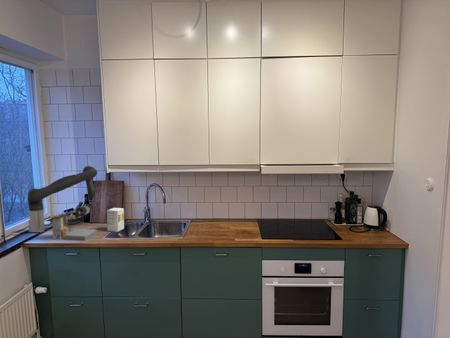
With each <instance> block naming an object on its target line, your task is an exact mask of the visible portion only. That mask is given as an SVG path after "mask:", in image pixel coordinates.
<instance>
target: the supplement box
mask: <svg viewBox="0 0 450 338" xmlns="http://www.w3.org/2000/svg"><path fill="white" fill-rule="evenodd" d="M106 215H107V217H106V219H107V231H108V232H116V233H118V232H121V231H122V230H124V229H125V208H122V207H112V208H110V209H107V210H106Z"/></svg>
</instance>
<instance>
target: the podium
mask: <svg viewBox="0 0 450 338" xmlns="http://www.w3.org/2000/svg"><path fill="white" fill-rule="evenodd" d="M97 234H98V230H97V229H91V228H77V229H75V230H72V231H71V232H69V233H68V234H67V235H65V236H64V238H63V239H64V240H67V241H88V240H89V239H91V238H92V237H94V236H95V235H97Z"/></svg>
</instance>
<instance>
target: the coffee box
mask: <svg viewBox="0 0 450 338" xmlns="http://www.w3.org/2000/svg"><path fill="white" fill-rule="evenodd" d="M51 219H52V220H51V221H52V238H53V240H63V239H64V236H65V235H67V234H68V233H70V232H69V216H68V215H66V213H65V214H63V213H59V214H57V215H55V216H53V217H52V218H51Z"/></svg>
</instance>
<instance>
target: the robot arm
mask: <svg viewBox="0 0 450 338" xmlns="http://www.w3.org/2000/svg"><path fill="white" fill-rule="evenodd" d="M97 175H98V169H96V168H95V167H93V166H91V165H86V166H84V168H83V170H82V172H80V173H76V174H72V175H71V174H70V175H66V176H64V177H61V178H59V179H56V180H55V181H53V182H52V183H50V184H48V185H46V186H44V187H41V188H32V189H30V190H28V192H27V205H28V213H29V219H28V221H27V222H28V232H29V233H30V232H40V233H44V232H45V231H44V230H45V215H44V213H45V211H44V210H45V209H44V208H45V207H44V203H43V200H44V199H45V198H46V199H47V198H48V197H49V196H52V195H54V194H56V193H59V192H63V191H64V190H66V189H69V188H71V187H73V186H76V185H77V184H80V183H82V182H85V184H86V191H87V192H86V193H87V199H88V201H89V202H92V201H91V200H92V198H93V197H94V196H95V188H96V186H95V187H94V185H95V183H94V184H93V181H94V178H95V177H96V176H97ZM93 211H94V210H93V207H92V205H90V204H87V203H86V204H85V205H82V206H80V207H77V208H76V209H75V210H74V211H72V210H70V211H67V212H65V215H68V217H74V218H77V219H78V218H81V217H85V216H87V215H88V214H89V213H92V212H93Z"/></svg>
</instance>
